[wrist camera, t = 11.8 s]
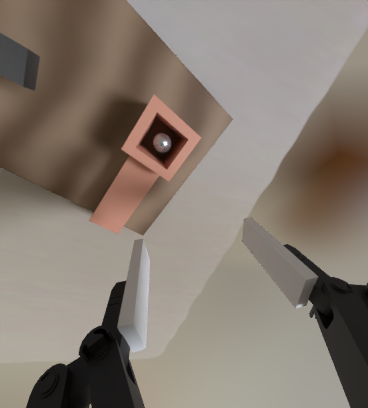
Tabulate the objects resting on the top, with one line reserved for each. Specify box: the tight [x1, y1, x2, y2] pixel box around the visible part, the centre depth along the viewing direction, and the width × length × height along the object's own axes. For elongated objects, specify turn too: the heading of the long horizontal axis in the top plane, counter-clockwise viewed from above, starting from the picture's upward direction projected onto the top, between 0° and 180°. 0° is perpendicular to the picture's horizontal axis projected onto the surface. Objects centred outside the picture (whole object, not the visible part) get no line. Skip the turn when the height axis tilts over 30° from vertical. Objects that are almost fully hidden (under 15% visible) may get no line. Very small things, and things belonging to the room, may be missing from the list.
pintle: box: [153, 133, 171, 153], centre depth 18 cm, size 2×2×6 cm
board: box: [0, 0, 233, 235], centre depth 18 cm, size 24×22×1 cm
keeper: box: [0, 33, 40, 91], centre depth 13 cm, size 6×2×7 cm, turn 62°
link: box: [89, 95, 201, 234], centre depth 18 cm, size 16×5×6 cm, turn 142°
